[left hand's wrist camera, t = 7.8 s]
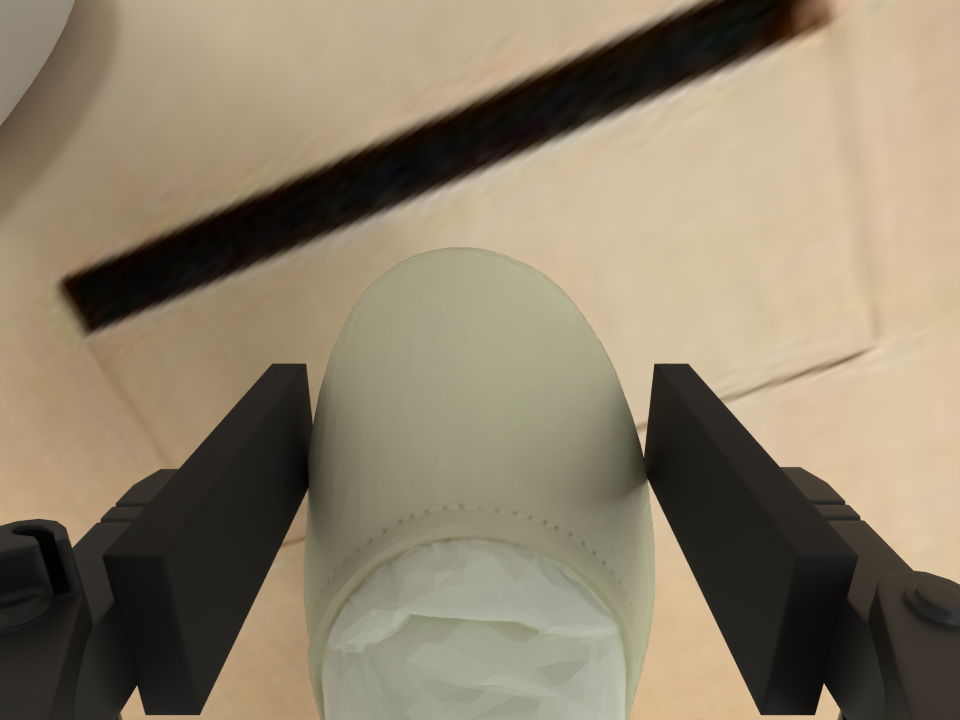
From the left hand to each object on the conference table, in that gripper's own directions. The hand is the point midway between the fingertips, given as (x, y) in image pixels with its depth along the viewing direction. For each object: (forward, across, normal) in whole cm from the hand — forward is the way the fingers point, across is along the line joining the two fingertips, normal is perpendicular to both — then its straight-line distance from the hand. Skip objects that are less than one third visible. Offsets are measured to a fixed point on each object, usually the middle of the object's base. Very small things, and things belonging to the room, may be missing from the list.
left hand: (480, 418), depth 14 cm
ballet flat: (+1, 0, -8) cm, 8 cm away
